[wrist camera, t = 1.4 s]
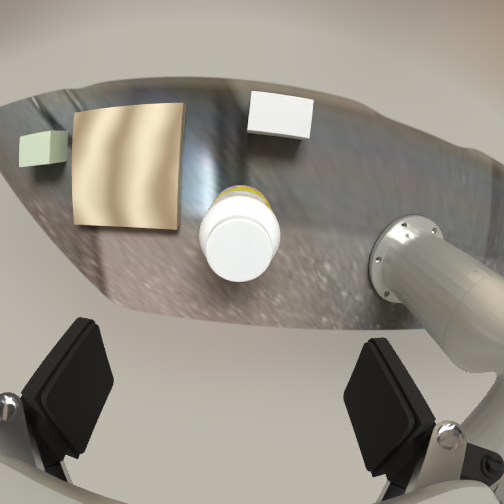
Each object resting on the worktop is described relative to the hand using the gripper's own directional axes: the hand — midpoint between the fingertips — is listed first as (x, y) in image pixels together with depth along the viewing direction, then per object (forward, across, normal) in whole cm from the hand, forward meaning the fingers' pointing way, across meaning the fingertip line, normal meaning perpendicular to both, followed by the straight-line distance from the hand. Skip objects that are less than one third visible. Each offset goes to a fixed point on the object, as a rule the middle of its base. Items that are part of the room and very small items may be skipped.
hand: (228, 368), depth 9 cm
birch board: (+24, +14, -5) cm, 28 cm away
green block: (+24, +26, -8) cm, 36 cm away
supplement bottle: (+24, 0, 0) cm, 24 cm away
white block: (+24, -3, -11) cm, 27 cm away
